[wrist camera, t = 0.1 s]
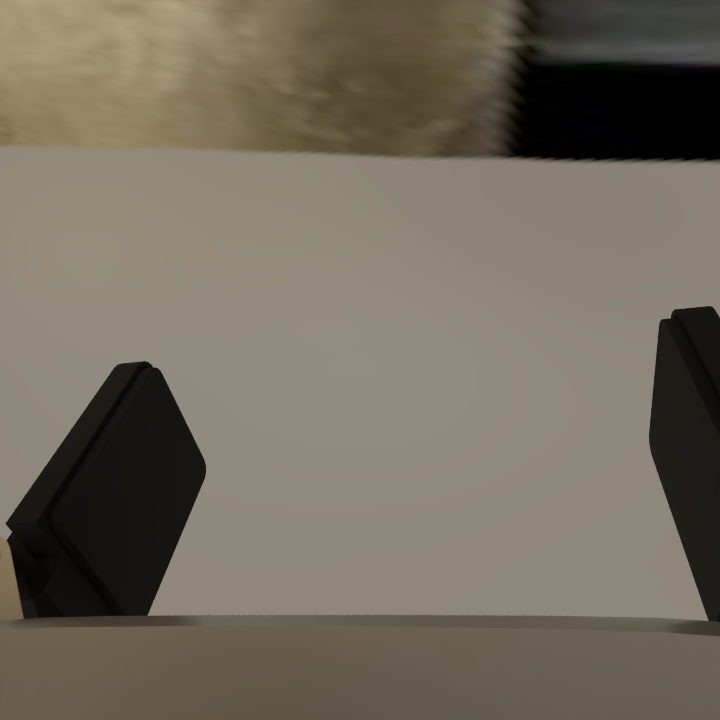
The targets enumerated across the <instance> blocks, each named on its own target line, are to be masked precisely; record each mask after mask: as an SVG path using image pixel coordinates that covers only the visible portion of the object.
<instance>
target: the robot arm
mask: <svg viewBox="0 0 720 720" xmlns="http://www.w3.org/2000/svg"><path fill="white" fill-rule="evenodd" d="M649 443H650V449H651V454H652V457H653V460H654V463H655V465H656V469H657V472H658V474H659V478H660V480H661V483H662V486H663V489H664V492H665V495H666V498H667V501H668V504H669V507H670V509H671V512H672V515H673V518H674V521H675V524H676V527H677V530H678V533H679V536H680V539H681V542H682V545H683V548H684V551H685V553H686V556H687V559H688V562H689V565H690V568H691V571H692V574H693V577H694V579H695V583H696V586H697V588H698V591H699V594H700V597H701V600H702V603H703V606H704V609H705V612H706V615H707V617H708V620H709V621H698V620H682V619H666V618H636V617H586V616H493V615H490V616H489V615H481V616H480V615H479V616H478V615H200V616H199V615H194V616H193V615H192V616H147V615H148V613H149V610H150V608H151V606H152V603H153V600H154V598H155V596H156V594H157V591H158V589H159V587H160V584H161V582H162V579H163V577H164V574H165V572H166V570H167V567H168V565H169V563H170V560H171V558H172V555H173V553H174V550H175V548H176V546H177V543H178V541H179V539H180V536H181V534H182V531H183V529H184V527H185V524H186V522H187V519H188V517H189V514H190V512H191V510H192V507H193V505H194V503H195V500H196V498H197V496H198V493H199V491H200V488H201V486H202V484H203V481H204V479H205V475H206V465H205V461H204V458H203V456H202V454H201V452H200V450H199V448H198V446H197V444H196V442H195V440H194V438H193V436H192V434H191V432H190V430H189V428H188V426H187V424H186V421H185V419H184V417H183V416H182V413H181V411H180V409H179V407H178V405H177V403H176V401H175V399H174V397H173V395H172V393H171V391H170V389H169V387H168V385H167V383H166V381H165V379H164V377H163V374H162V373H161V371H160V370H159V369H158V368H153V367H152V365H151V364H150V363H149V362H145V361H143V362H133V363H123V364H119V365H117V366H116V367H115V368H114V369H113V371H112V372H111V373H110V375H109V376H108V378H107V379H106V381H105V382H104V383H103V385H102V386H101V388H100V389H99V391H98V392H97V393H96V395H95V396H94V398H93V399H92V401H91V402H90V403H89V405H88V406H87V408H86V409H85V411H84V412H83V413H82V415H81V416H80V418H79V419H78V421H77V422H76V424H75V425H74V426H73V428H72V429H71V431H70V432H69V434H68V435H67V436H66V438H65V439H64V441H63V442H62V444H61V445H60V446H59V448H58V449H57V451H56V452H55V454H54V455H53V456H52V458H51V459H50V461H49V462H48V464H47V465H46V466H45V468H44V469H43V471H42V472H41V474H40V475H39V477H38V478H37V480H36V481H35V482H34V484H33V485H32V487H31V488H30V489H29V491H28V492H27V494H26V495H25V497H24V498H23V500H22V501H21V502H20V504H19V505H18V507H17V508H16V509H15V511H14V512H13V514H12V515H11V517H10V518H9V519H8V521H7V522H6V525H7V526H8V527H9V528H10V530H11V531H12V533H11V535H10V536H9V538H8V539H7V541H6V540H5V539H3V538H1V537H0V720H720V317H719V316H718V314H717V312H716V311H715V309H714V308H713V307H711V306H706V307H696V308H686V309H676V310H674V311H673V312H672V315H671V319H662V320H661V321H660V324H659V333H658V344H657V354H656V366H655V376H654V387H653V398H652V408H651V419H650V430H649Z"/></svg>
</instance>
